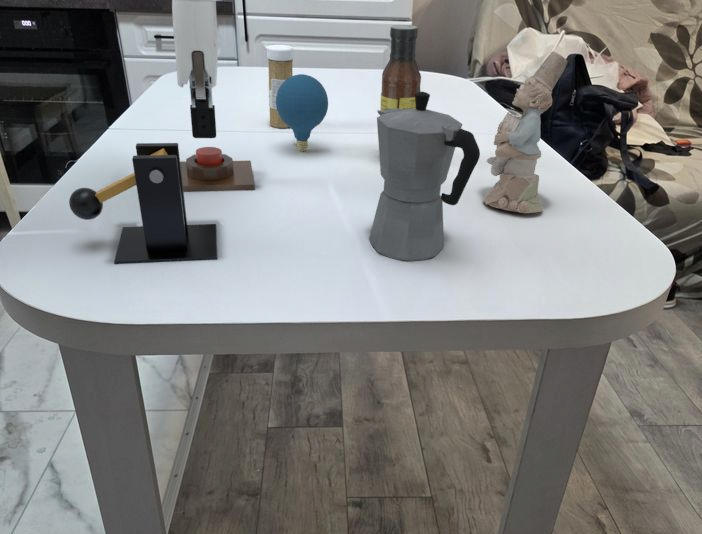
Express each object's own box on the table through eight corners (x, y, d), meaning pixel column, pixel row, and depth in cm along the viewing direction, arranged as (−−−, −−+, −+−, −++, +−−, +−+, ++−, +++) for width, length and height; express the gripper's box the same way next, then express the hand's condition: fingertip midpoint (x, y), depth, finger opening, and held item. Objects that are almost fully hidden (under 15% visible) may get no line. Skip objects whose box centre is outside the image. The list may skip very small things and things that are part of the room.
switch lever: (80, 229, 68) (59, 203, 66) (85, 217, 70) (65, 191, 68) (177, 180, 67) (159, 152, 65) (178, 169, 69) (161, 142, 67)
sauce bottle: (418, 156, 105) (432, 25, 93) (412, 168, 100) (427, 31, 88) (380, 151, 106) (389, 21, 94) (372, 163, 101) (381, 27, 89)
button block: (167, 198, 85) (163, 173, 83) (170, 172, 93) (167, 149, 91) (255, 196, 87) (254, 171, 85) (251, 171, 95) (250, 148, 93)
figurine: (541, 198, 92) (575, 50, 80) (543, 220, 85) (581, 63, 74) (480, 191, 93) (506, 44, 82) (478, 212, 86) (505, 56, 75)
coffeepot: (343, 234, 79) (349, 83, 68) (398, 217, 84) (411, 74, 73) (429, 284, 69) (452, 118, 59) (485, 262, 74) (515, 105, 64)
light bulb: (291, 162, 99) (290, 83, 92) (268, 147, 105) (266, 71, 98) (336, 155, 103) (338, 78, 96) (311, 141, 109) (312, 67, 102)
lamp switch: (115, 271, 68) (95, 165, 61) (124, 235, 75) (106, 137, 69) (217, 266, 70) (208, 163, 63) (216, 232, 77) (208, 136, 71)
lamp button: (196, 167, 87) (195, 155, 86) (196, 159, 90) (195, 146, 89) (222, 167, 87) (221, 154, 86) (222, 158, 90) (221, 146, 89)
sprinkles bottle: (273, 120, 118) (271, 43, 110) (296, 123, 117) (296, 45, 109) (265, 127, 114) (263, 47, 106) (289, 130, 114) (289, 49, 106)
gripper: (164, -24, 81) (178, 121, 91) (157, -11, 69) (174, 153, 80) (223, -21, 82) (230, 121, 93) (226, -8, 70) (234, 153, 81)
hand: (204, 136), depth 86 cm, fingers closed
